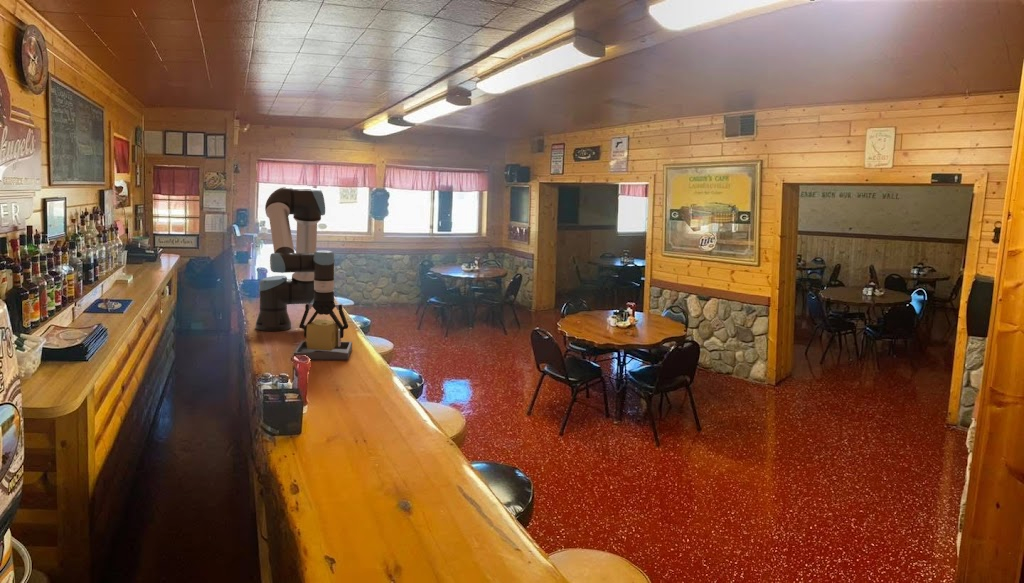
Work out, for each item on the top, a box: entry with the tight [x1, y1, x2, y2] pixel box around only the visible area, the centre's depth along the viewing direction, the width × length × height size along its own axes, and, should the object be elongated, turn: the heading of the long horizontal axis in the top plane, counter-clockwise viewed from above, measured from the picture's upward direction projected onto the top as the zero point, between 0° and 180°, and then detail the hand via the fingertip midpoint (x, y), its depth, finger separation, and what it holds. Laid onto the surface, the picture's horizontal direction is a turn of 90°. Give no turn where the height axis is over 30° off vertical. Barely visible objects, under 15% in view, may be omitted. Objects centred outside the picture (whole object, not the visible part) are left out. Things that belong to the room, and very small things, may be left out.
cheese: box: [305, 318, 339, 351], centre depth 253 cm, size 10×11×10 cm
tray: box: [292, 340, 353, 362], centre depth 254 cm, size 18×20×3 cm
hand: (324, 345), depth 253 cm, fingers closed on cheese, 11 cm apart
